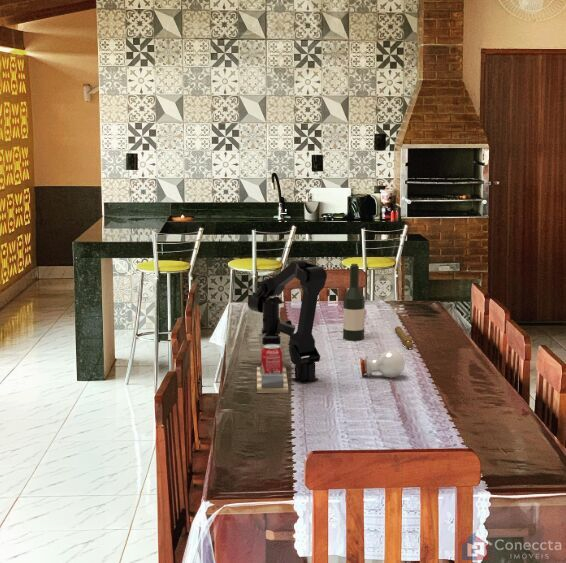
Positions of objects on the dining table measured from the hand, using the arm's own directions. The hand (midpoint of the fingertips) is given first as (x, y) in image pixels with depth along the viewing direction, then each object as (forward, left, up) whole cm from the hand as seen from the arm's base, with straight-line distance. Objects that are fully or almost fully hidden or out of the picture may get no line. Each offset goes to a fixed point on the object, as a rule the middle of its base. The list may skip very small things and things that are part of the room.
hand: (271, 358), depth 349 cm
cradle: (-12, +13, -3) cm, 18 cm away
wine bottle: (+7, -55, -4) cm, 56 cm away
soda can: (-16, +17, -2) cm, 23 cm away
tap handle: (-10, -66, -4) cm, 67 cm away
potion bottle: (-36, -17, -4) cm, 40 cm away
